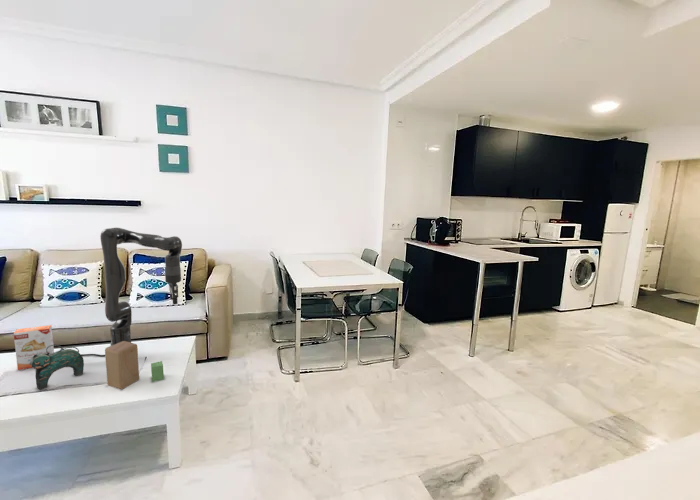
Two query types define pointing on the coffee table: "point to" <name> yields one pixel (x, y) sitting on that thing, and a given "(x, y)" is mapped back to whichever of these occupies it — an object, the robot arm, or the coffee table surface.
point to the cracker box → (32, 344)
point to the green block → (157, 371)
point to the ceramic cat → (55, 364)
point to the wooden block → (122, 364)
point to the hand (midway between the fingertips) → (174, 301)
